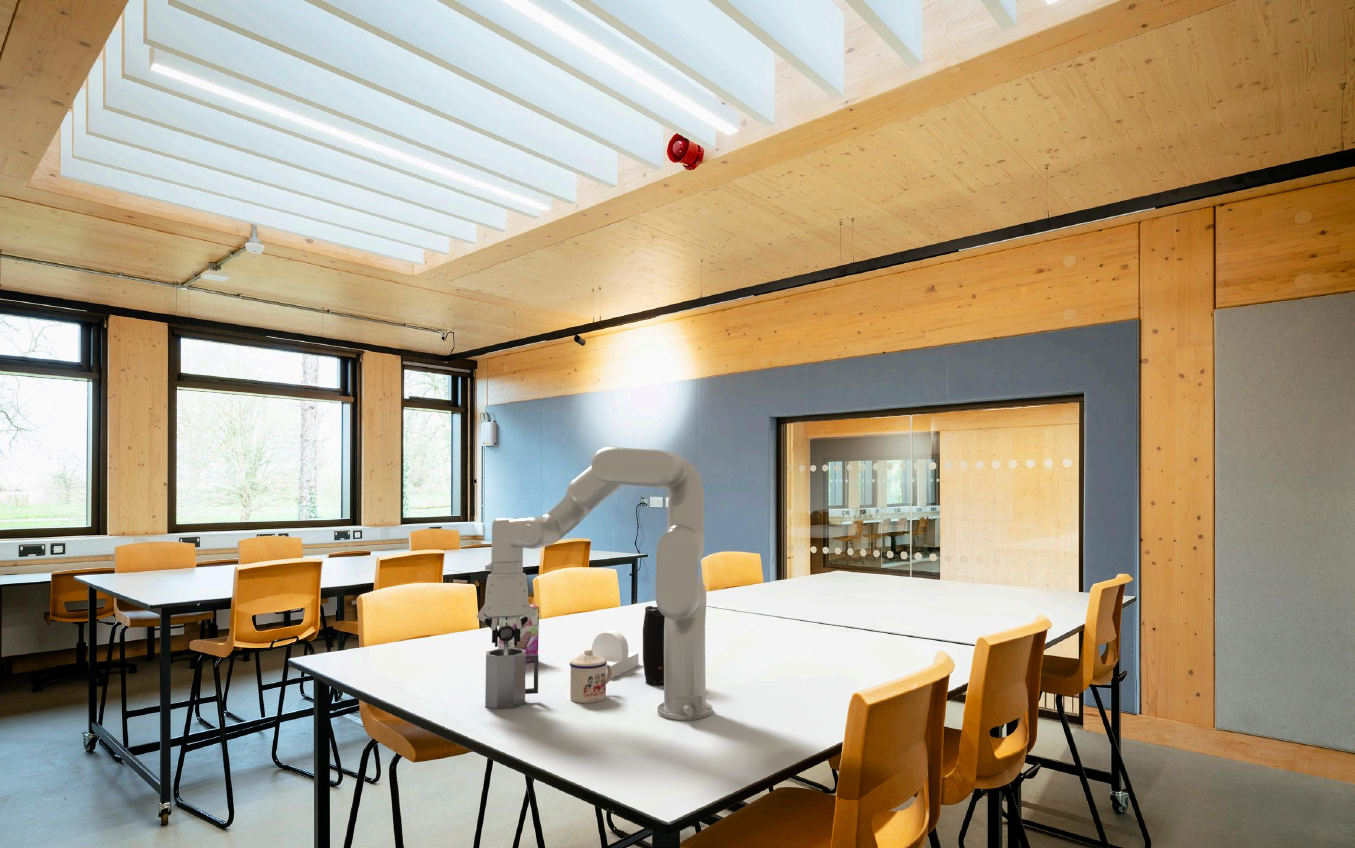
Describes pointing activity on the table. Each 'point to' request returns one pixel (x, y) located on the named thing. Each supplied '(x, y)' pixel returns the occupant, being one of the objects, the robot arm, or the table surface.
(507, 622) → the candy bar box
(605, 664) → the teacup with lid
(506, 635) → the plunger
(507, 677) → the grey faceted mug
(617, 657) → the white arched block
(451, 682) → the table surface
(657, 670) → the portable speaker
